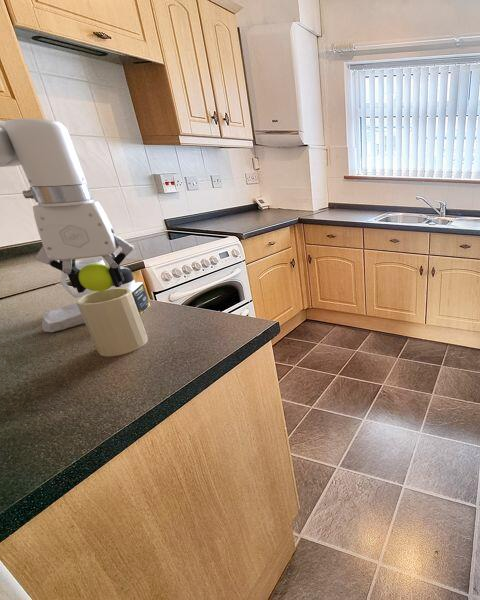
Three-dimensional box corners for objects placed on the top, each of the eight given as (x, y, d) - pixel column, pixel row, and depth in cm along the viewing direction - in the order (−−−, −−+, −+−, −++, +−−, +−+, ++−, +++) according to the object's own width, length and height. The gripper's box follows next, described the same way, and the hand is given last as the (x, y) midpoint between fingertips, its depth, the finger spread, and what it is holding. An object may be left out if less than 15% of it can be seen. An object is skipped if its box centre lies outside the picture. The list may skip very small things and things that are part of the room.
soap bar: (58, 344, 81) (41, 330, 77) (47, 332, 84) (29, 317, 79) (103, 318, 87) (89, 304, 83) (91, 307, 89) (76, 292, 85)
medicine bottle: (141, 316, 88) (125, 272, 83) (108, 320, 86) (90, 275, 81) (151, 305, 94) (136, 264, 89) (121, 308, 92) (105, 266, 87)
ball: (80, 297, 65) (68, 270, 63) (89, 288, 70) (78, 262, 68) (116, 292, 68) (106, 265, 66) (122, 283, 72) (112, 258, 70)
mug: (117, 295, 101) (102, 256, 96) (119, 301, 96) (103, 261, 91) (72, 304, 95) (54, 263, 90) (72, 312, 90) (52, 269, 85)
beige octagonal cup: (93, 360, 69) (69, 307, 64) (104, 341, 76) (83, 292, 71) (144, 349, 73) (125, 299, 68) (150, 332, 80) (134, 285, 75)
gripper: (-12, 201, 55) (38, 302, 62) (117, 194, 62) (148, 286, 69) (10, 196, 61) (53, 289, 68) (126, 190, 68) (153, 275, 75)
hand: (101, 286), depth 69 cm, fingers closed on ball, 5 cm apart
